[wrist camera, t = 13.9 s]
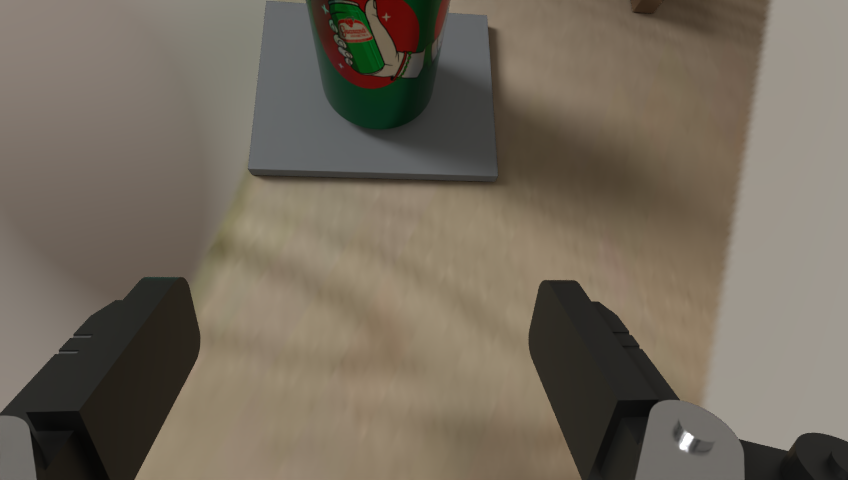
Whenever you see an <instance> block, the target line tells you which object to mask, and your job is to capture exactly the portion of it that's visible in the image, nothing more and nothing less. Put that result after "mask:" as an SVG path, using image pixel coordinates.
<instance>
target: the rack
mask: <svg viewBox="0 0 848 480" xmlns="http://www.w3.org/2000/svg"><path fill="white" fill-rule="evenodd" d="M662 1H663V0H631V4H632V9H633V12H643V13H654V12H655V10H656V9H657V8H658V7H659V5H660V4H661V3H662Z"/></svg>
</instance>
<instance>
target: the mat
mask: <svg viewBox="0 0 848 480" xmlns="http://www.w3.org/2000/svg"><path fill="white" fill-rule="evenodd" d="M257 82H258V83H257V91H256V100H255V109H254V119H253V127H252V136H251V145H250V155H249V164H248V170H249V171H250V173H251V174H252V175H279V176H314V177H350V178H386V179H421V180H457V181H493V182H495V180H496V179H497V177H498V168H497V154H496V139H495V124H494V110H493V95H492V81H491V66H490V51H489V37H488V22H487V15H473V14H458V13H448V16H447V21H446V26H445V31H444V37H443V42H442V47H441V52H440V57H439V62H438V67H437V72H436V77H435V82H434V88H433V93H432V96H431V99H430V101H429V103H428V105H427V107H426V108H425V109H424V111H423V112H422V113H421V114H420V115H419V116H418V117H416V118H415V119H414V120H412V121H411V122H409V123H407V124H405V125H402V126H400V127H396V128H392V129H383V130H381V129H369V128H364V127H361V126H358V125H355V124H353V123H351V122H349V121H347V120H346V119H344V118H343V117H341V116H340V115H339V114H338V113H337V112H336V111H335V110H334V109H333V108H332V106H331V105H330V104H329V102H328V100H327V98H326V96H325V93H324V90H323V86H322V81H321V75H320V70H319V65H318V60H317V55H316V50H315V45H314V40H313V35H312V30H311V24H310V19H309V14H308V9H307V4H306V3H292V2H277V1H266V8H265V17H264V27H263V37H262V45H261V54H260V63H259V72H258V81H257Z"/></svg>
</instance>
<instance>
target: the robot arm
mask: <svg viewBox="0 0 848 480" xmlns="http://www.w3.org/2000/svg"><path fill="white" fill-rule="evenodd" d="M199 349H200V331H199V327H198V322H197V318H196V314H195V310H194V305H193V301H192V297H191V293H190V288H189V285H188V282H187V281H186V279H185V278H183V277H145V278H143V279H141V280H140V281H139V282H138V283H137V284H136V286H135V287H134V288H133V289H132V290H131V291H130V293H129V294H128V295H127V296H126V297H125V298H124V299H123V300H115V301H114V302H112V303H111V304H109V305H107V306H106V307H104V308H103V309H101V310H99V311H98V312H96V313H95V314H93V315H91V316H90V317H89V318H88V319H87V320H86V321H85V323H84V324H83V325H82V326H81V327H80V328H79V329H78V330H77V331H76V332H75V333H74V337H73V338H70V339H69V340H68V341H67V342H66V343H65V344H64V345H63V346H62V348H60V350H59V354H55V355H54V356H53V357H52V358H51V359H50V360H49V361H48V362H47V364H45V366H44V367H43V368H42V369H41V370H40V371H39V372H38V373H37V374H36V375H35V376H34V377H33V379H32V380H31V381H30V382H29V383H28V384H27V385H26V386H25V387H24V388H23V389H22V390H21V392H20V393H19V394H18V395H17V396H16V397H15V398H14V399H13V400H12V401H11V402H10V403H9V404H8V406H6V408H5V409H4V410H3V411H2V412H1V413H0V480H134V479H135V477H136V475H137V473H138V472H139V470H140V468H141V466H142V464H143V462H144V460H145V458H146V456H147V454H148V452H149V450H150V448H151V447H152V445H153V443H154V441H155V439H156V437H157V435H158V433H159V431H160V429H161V427H162V425H163V423H164V422H165V420H166V418H167V416H168V414H169V412H170V410H171V408H172V406H173V404H174V402H175V400H176V398H177V397H178V395H179V393H180V391H181V389H182V387H183V385H184V383H185V381H186V379H187V377H188V375H189V373H190V372H191V370H192V368H193V366H194V364H195V362H196V360H197V357H198V354H199ZM529 350H530V355H531V358H532V360H533V363H534V365H535V368H536V370H537V372H538V375H539V377H540V380H541V382H542V384H543V387H544V389H545V392H546V394H547V397H548V399H549V401H550V404H551V406H552V409H553V411H554V413H555V416H556V418H557V421H558V423H559V425H560V428H561V430H562V433H563V435H564V438H565V440H566V442H567V445H568V447H569V450H570V452H571V454H572V457H573V459H574V462H575V464H576V466H577V469H578V471H579V474H580V476H581V479H582V480H848V442H847V441H844V440H842V439H839V438H836V437H833V436H830V435H826V434H821V433H806V434H803V435H801V436H799V437H798V439H797V440H796V441H795V443H794V444H793V446H792V447H791V448H790V450H789V451H785V450H781V449H777V448H773V447H769V446H765V445H760V444H756V443H752V442H748V441H744V440H740V439H738V437H737V436H736V435H735V433H734V432H733V431H732V430H731V429H730V428H729V427H728V426H727V424H725V423H724V422H723V421H722V420H721V419H719V418H718V417H717V416H715V415H714V414H712V413H711V412H709V411H707V410H706V409H704V408H701V407H699V406H697V405H694V404H692V403H689V402H685V401H680V399H679V398H678V397H677V395H676V394H675V393H674V391H673V390H672V389H671V387H670V386H669V385H668V383H667V382H666V381H665V379H664V378H663V377H662V375H661V374H660V372H659V371H658V370H657V368H656V367H655V366H654V364H653V363H652V362H651V360H650V359H649V358H648V356H647V355H646V354H645V352H644V351H643V350H642V349H640V348H639V344H638V343H637V342H636V340H635V339H634V337H633V336H632V335H629V331H628V329H627V328H626V327H625V325H624V324H623V323H622V321H621V320H620V319H619V317H618V316H617V315H616V314H614V313H613V312H612V311H610V310H609V309H608V308H606V307H605V306H604V305H602V304H601V303H600V302H591V300H590V299H589V297H588V296H587V294H586V293H585V292H584V290H583V289H582V287H581V286H580V284H579V283H578V282H577V281H575V280H544V281H542V282H541V284H540V286H539V289H538V294H537V298H536V303H535V307H534V312H533V316H532V321H531V325H530V330H529Z"/></svg>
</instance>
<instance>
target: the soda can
mask: <svg viewBox="0 0 848 480" xmlns="http://www.w3.org/2000/svg"><path fill="white" fill-rule="evenodd" d="M450 1H451V0H306V4H307V9H308V14H309V19H310V24H311V30H312V35H313V40H314V45H315V50H316V55H317V60H318V65H319V70H320V75H321V81H322V86H323V90H324V93H325V96H326V98H327V100H328V102H329V104H330V105H331V106H332V108H333V109H334V110H335V111H336V112H337V113H338V114H339V115H340V116H341V117H343V118H344V119H346V120H347V121H349V122H351V123H353V124H355V125H358V126H361V127H364V128H369V129H381V130H383V129H392V128H396V127H400V126H402V125H405V124H407V123H409V122H411V121H412V120H414V119H415V118H416V117H418V116H419V115H420V114H421V113H422V112H423V111H424V109H425V108H426V107H427V105H428V103H429V101H430V99H431V96H432V93H433V88H434V82H435V77H436V72H437V67H438V62H439V57H440V52H441V47H442V42H443V37H444V31H445V26H446V21H447V16H448V11H449V6H450Z"/></svg>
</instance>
